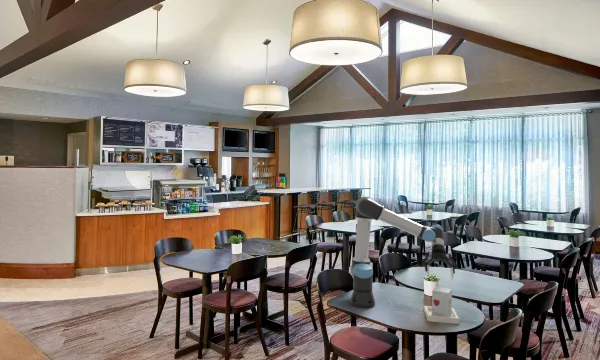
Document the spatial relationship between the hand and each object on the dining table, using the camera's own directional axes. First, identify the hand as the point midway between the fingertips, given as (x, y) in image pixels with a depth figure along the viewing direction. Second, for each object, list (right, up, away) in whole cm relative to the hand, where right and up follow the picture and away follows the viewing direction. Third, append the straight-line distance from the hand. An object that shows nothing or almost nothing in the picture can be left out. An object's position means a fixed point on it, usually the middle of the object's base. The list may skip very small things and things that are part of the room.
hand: (440, 277), depth 230 cm
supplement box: (-3, -19, -11) cm, 22 cm away
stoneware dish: (-3, -20, -10) cm, 23 cm away
